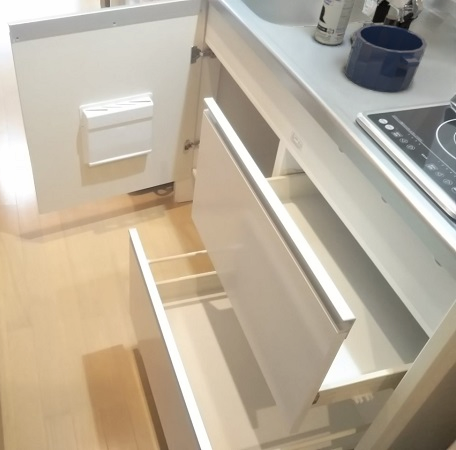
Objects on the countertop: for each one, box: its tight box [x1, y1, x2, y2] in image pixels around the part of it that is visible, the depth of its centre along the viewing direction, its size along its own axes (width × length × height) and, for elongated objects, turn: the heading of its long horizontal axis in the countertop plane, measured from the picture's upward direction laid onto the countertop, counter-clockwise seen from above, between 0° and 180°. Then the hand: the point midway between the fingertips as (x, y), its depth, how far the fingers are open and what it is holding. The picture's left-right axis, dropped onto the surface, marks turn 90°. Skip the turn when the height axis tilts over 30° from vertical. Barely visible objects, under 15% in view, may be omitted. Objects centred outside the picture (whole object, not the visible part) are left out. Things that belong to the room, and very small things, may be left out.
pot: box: [344, 22, 428, 93], centre depth 108 cm, size 14×19×8 cm
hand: (387, 30), depth 120 cm, fingers open, 8 cm apart
